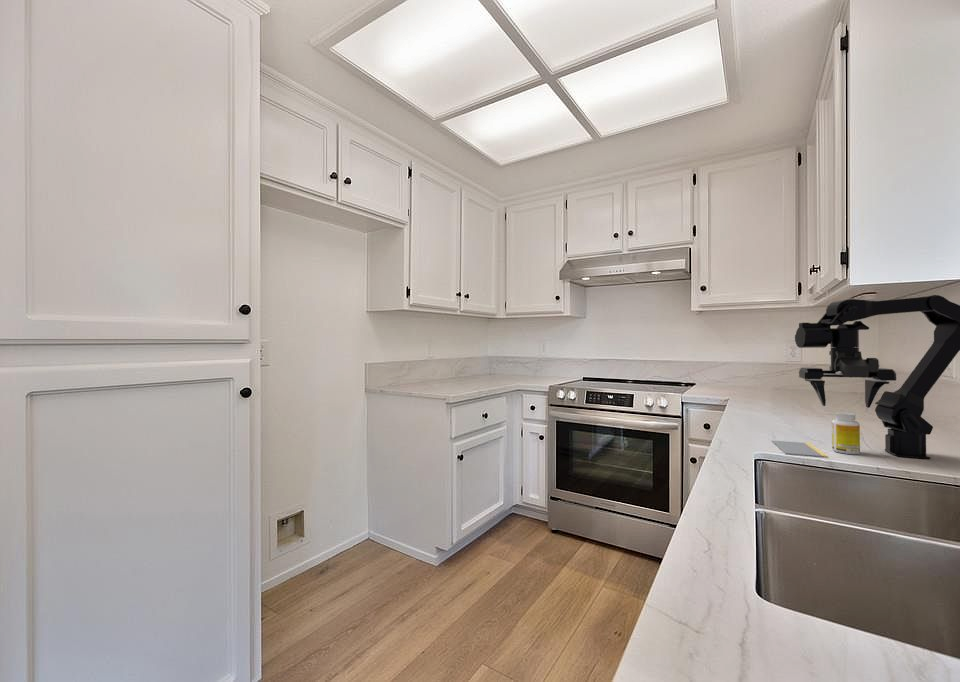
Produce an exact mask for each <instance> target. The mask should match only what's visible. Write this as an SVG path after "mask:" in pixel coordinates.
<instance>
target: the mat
mask: <svg viewBox="0 0 960 682" xmlns="http://www.w3.org/2000/svg"><path fill="white" fill-rule="evenodd" d="M771 443H772V444H774V445H775V446H776V447H777V448H778V449H780V450H781V452H782V453H784V455H791V456H803V457H817V458H828V457H829V456H828V454H826V453H824V452H823V451H821V450H820V449H818V448H817V447H816V446H814V445H813V444H811V443H810V442H807V441H806V442H798V441H797V442H796V441H787V440H786V441H784V440H783V441H782V440H771Z"/></svg>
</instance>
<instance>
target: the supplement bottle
mask: <svg viewBox="0 0 960 682" xmlns="http://www.w3.org/2000/svg"><path fill="white" fill-rule="evenodd" d="M834 417H835V418H834V419H833V420H831V448H832V450H833V451H834V452H835V453H839V454H844V455H858V454H860V452H861V438H860V437H861V435H860V434H861V432H860V430H861V429H860V422H859V421H856V419H857V417H856V414H855V413H852V412H851V413H850V412H842V411H841V412H838V411H837V412H835V416H834Z"/></svg>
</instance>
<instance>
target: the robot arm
mask: <svg viewBox="0 0 960 682" xmlns="http://www.w3.org/2000/svg"><path fill="white" fill-rule="evenodd" d="M916 312H920V313H922V314H923V315H924V316H925V317H926V319H927V321H928V322H930V323H931V324H932V325H934V326H935V328H934V331H933V343H932V344H931V346H930V347H929V348H928V350H927V351H925V354H924V355H923V357H922V358H921V359H920V360H919V362H918V363H917V364H916V366H915V367H914V369H913V370H912V371H911V373H910V374H909V375H908V377H907V378H906V380H905V381H904V382H903V384H902V385H901V386H900V387H899V388H898V390H895V391H889V390H888V391H887V390H886V391H884V392H883V393H882V395H881V397H880V399H879V400H877V401H876V402H875V403H874V404H875V405H876V406H875V408H874V412H875V414H876V417H877V418H878V419H880V421H881V422H882V424H883V427H884V428H887V434H885V435H884V438H885V441H884V443H885V448H884V451H885V452H888V453H889V454H891V455H893V456H895V457H903V458H916V459H918V458H919V459H931V456H929V455H927V435H931V433H932V431H933V429H934V426H933V425H932V424H930V423H929V422H928V421H927V420H926V419H925V418H923V417H922V415H923V414H924V413H923V412H924V410H925V398H926V396H927V394H929V392H930V391H931V389H932V388H933V387H934V385H936V383H937V381H938V380H939V379H940V378H941V376H942V375H943V374H944V372H945V371H946V369H947V368H948V367H949V365H950V364H951V363H952V361H953V360H954V359H955V357H956V356H957V355H958V353H959V352H960V304H957V303H955V302H952V301H950V300H949V299H948V298H945V297H944V296H942V295H939V294H932V295H924V296H919V297H918V296H917V297H909V298H899V299H898V298H895V299H887V300H870V299H869V300H868V299H854V298H851V299H848V298H847V299H842V300H836V301H832V302H830V303H829V304H828V305H827V306H826V309H825V313H824V315H822V317H821V318H820V319H819V320H818V321H817V322H799V323H798V328H797V330H796V332H795V335H794V342H795V345H796V346H797V347H798V348H799V349H801V348H802V349H805V348H807V349H808V348H809V349H810V348H811V349H812V348H816V349H817V348H820V349H822V348H823V349H824V348H826V347H828V345H830V346H829V347H830V350H829V351H828V354H829V356H830V365H829V370H828V369H827V370H824V369H823V368H820V367H800V369H799V370H798V378H800V379H804V381H806V382H809V383H810V385H811V386H812V387H813V389H814V391H815V393H816V395H817V398H818V399H819V401H820V404H821V405H822V406H823V407H826V404H827V403H826V401H827V399H826V391H825V383H826V380H823V378H863V379H864V403H865V407H866V408H868V409H869V408H871V405H872V403H873V402H874V400H875V397H876V395H877V393H878V391H879V390H880V389H881V388H882V387H883V386H884V385H888V384H890V381H894V382H895V381H897V373H896V371H895V370H894V369H892V368H891V369H890V368H886V367H885V368H883V367H881V368H880V361H879V359H878V358H877V357H867V358H866V359H865V358H863V357H862V351H860V333H859V332H860V331H867V330H870V326H868V325H866V324H864V323H863V322H862V321H861V320H863V319H867V318H871V317H874V316H878V315H890V314H891V315H893V314H903V313H904V314H905V313H916ZM847 322H853V323H847ZM831 326H837V327H836V328H834V327H833V328H831ZM865 378H867V379H865Z"/></svg>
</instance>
